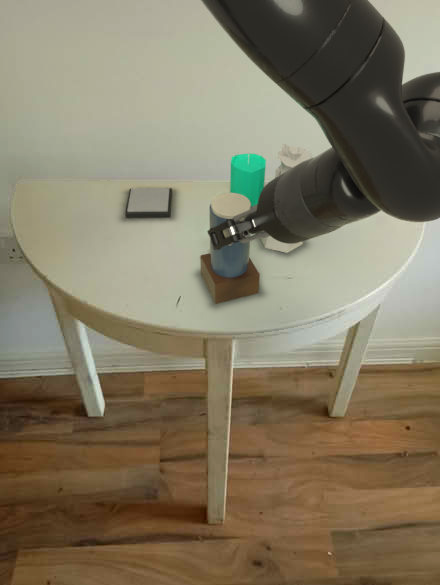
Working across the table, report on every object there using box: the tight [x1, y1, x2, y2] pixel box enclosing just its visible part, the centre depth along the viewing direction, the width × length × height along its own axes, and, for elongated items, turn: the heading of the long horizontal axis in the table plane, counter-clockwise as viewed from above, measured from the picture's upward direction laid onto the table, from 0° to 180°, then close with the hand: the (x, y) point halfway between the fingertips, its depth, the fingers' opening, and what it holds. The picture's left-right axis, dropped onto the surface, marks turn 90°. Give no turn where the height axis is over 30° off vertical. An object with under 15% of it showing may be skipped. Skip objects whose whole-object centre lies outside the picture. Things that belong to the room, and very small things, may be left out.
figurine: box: [259, 143, 308, 254], centre depth 80 cm, size 7×8×18 cm
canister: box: [209, 192, 252, 278], centre depth 72 cm, size 6×6×11 cm
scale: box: [124, 187, 173, 219], centre depth 93 cm, size 8×8×1 cm
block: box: [199, 252, 261, 305], centre depth 77 cm, size 7×7×4 cm
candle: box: [229, 152, 267, 206], centre depth 87 cm, size 6×6×12 cm
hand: (245, 229), depth 67 cm, fingers open, 8 cm apart
